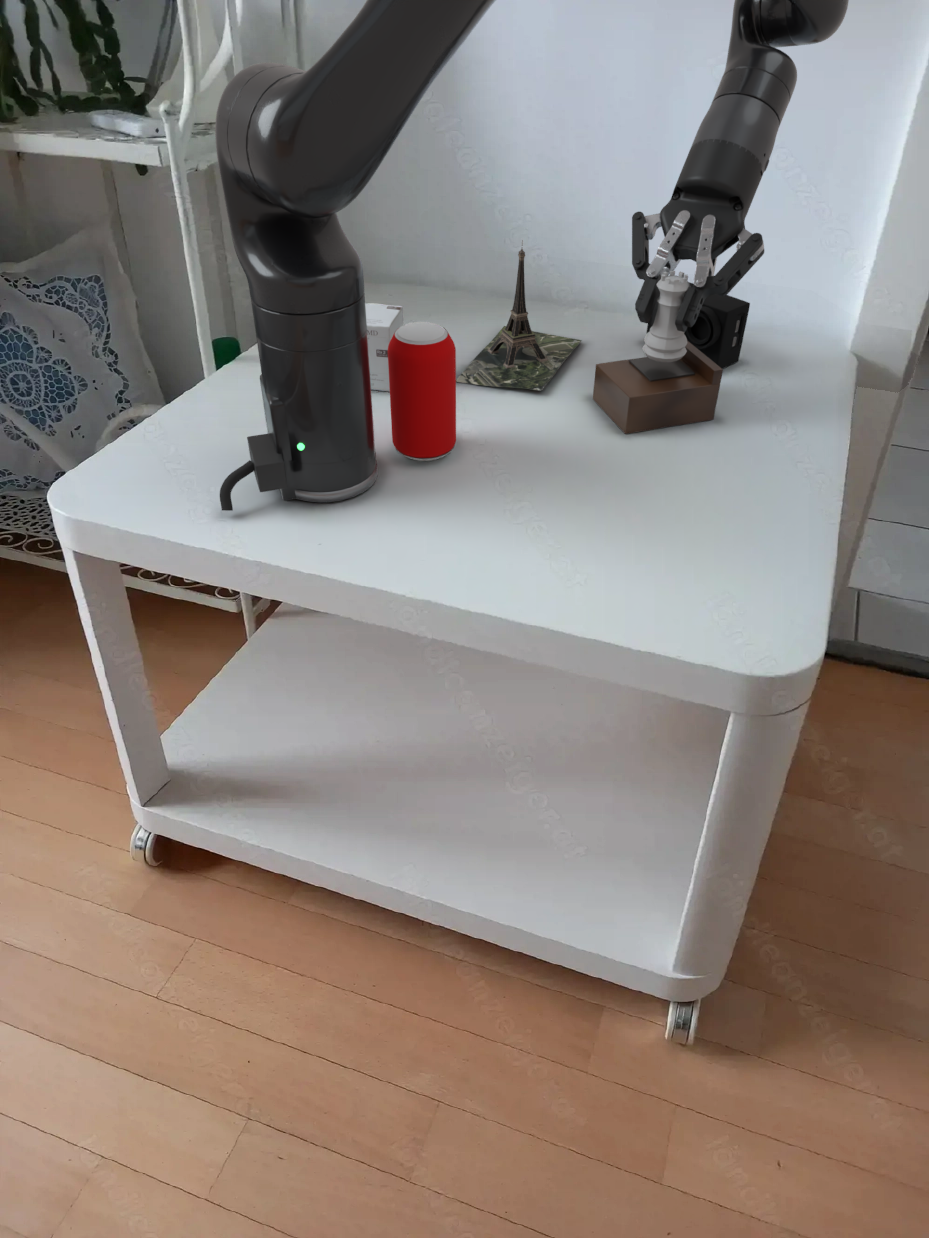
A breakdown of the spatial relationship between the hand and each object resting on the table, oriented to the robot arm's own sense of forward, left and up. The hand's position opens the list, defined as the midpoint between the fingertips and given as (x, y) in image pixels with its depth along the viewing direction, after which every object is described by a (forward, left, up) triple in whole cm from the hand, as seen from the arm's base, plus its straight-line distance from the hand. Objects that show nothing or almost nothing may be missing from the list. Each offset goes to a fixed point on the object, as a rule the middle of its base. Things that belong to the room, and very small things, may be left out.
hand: (661, 323), depth 92 cm
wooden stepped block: (0, 0, -9) cm, 9 cm away
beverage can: (-25, -1, -10) cm, 26 cm away
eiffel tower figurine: (-9, +15, -10) cm, 20 cm away
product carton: (-26, +16, -10) cm, 32 cm away
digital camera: (+10, +11, -10) cm, 18 cm away
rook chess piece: (+2, +1, -4) cm, 5 cm away
